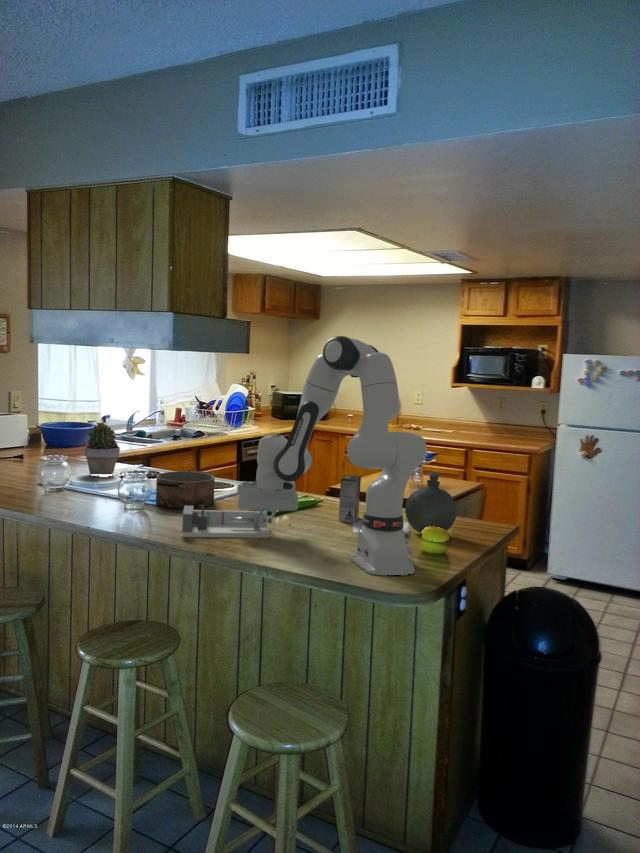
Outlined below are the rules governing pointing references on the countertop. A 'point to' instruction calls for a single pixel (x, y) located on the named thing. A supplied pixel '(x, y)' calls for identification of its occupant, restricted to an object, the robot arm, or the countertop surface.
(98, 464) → the potted plant
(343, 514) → the coffee box
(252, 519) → the plunger
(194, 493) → the cooking pot
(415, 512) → the flask
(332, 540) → the countertop surface
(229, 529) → the gauge bed
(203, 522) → the needle rider
